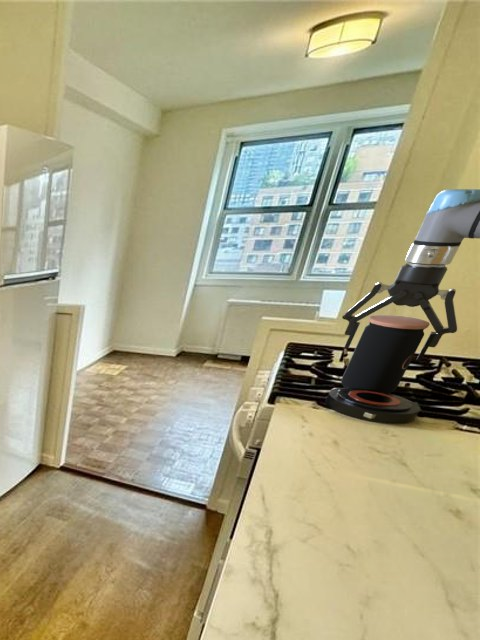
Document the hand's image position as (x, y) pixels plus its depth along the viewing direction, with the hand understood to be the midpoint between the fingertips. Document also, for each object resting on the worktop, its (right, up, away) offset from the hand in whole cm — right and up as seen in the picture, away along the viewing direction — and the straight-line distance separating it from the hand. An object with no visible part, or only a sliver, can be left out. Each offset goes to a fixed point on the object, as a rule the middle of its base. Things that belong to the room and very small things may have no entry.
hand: (381, 353), depth 122 cm
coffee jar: (0, -9, +4) cm, 10 cm away
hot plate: (-10, -15, -7) cm, 19 cm away
